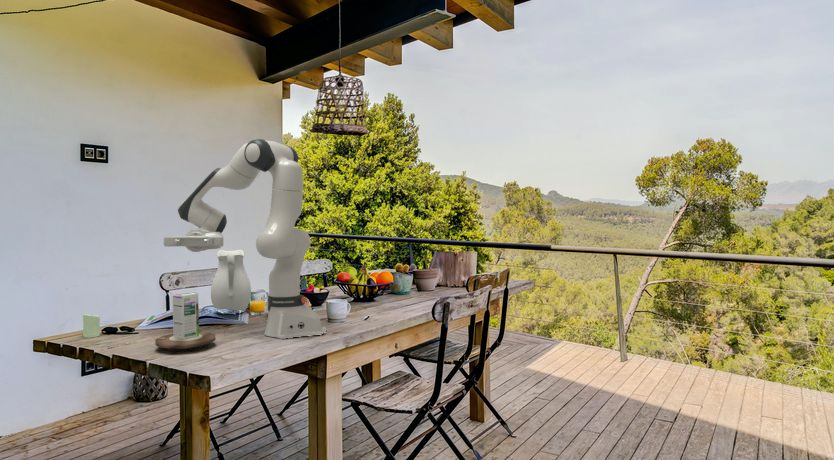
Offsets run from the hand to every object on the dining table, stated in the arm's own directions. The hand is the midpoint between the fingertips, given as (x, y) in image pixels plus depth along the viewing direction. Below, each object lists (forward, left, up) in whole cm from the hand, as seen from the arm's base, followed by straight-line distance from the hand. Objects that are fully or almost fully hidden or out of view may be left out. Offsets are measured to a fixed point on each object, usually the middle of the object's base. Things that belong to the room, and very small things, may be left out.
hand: (192, 242), depth 180 cm
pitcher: (-8, -41, -34) cm, 54 cm away
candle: (+35, -8, -34) cm, 50 cm away
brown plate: (-1, +15, -32) cm, 35 cm away
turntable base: (-1, +15, -34) cm, 37 cm away
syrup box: (-1, +15, -31) cm, 34 cm away
